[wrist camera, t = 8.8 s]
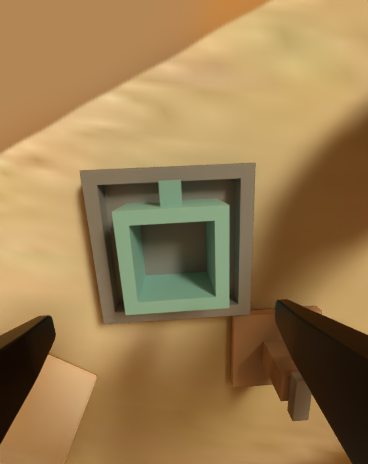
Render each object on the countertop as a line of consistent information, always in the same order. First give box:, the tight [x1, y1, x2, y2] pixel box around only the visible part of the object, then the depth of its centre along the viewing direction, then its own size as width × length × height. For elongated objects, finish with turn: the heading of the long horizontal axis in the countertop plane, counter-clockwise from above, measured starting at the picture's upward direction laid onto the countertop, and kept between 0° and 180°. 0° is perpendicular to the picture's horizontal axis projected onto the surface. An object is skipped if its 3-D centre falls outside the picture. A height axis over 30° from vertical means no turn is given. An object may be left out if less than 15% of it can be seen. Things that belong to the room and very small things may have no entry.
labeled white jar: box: [0, 354, 97, 464], centre depth 15 cm, size 7×7×12 cm
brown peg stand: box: [231, 306, 322, 421], centre depth 19 cm, size 8×8×5 cm
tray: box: [80, 163, 256, 324], centre depth 17 cm, size 12×12×2 cm
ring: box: [112, 180, 229, 315], centre depth 15 cm, size 9×7×4 cm
